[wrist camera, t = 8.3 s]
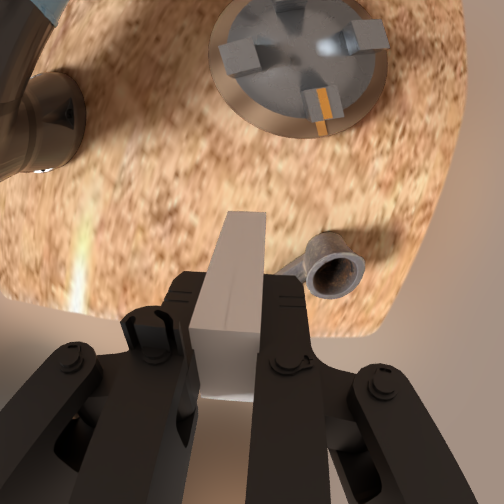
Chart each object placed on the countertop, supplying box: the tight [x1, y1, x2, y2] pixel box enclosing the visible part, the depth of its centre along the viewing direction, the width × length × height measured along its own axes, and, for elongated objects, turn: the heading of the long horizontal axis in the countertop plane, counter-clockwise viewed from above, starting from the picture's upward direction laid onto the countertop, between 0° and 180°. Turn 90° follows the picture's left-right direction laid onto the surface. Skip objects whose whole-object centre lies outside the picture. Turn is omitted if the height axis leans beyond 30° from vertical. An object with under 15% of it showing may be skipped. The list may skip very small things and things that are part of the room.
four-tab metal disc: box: [218, 0, 390, 123], centre depth 23 cm, size 15×15×7 cm
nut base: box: [208, 0, 388, 139], centre depth 27 cm, size 20×20×2 cm
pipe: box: [274, 232, 365, 299], centre depth 37 cm, size 6×13×8 cm, turn 131°
